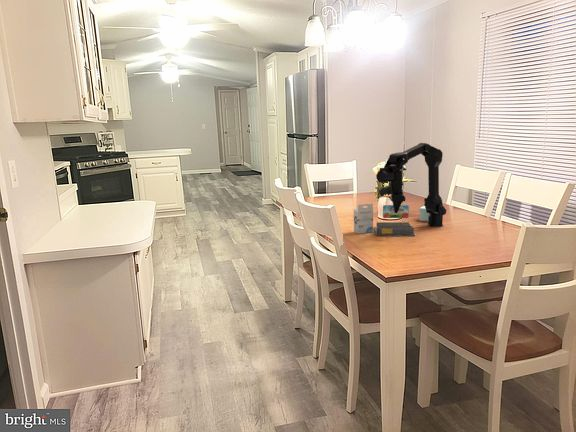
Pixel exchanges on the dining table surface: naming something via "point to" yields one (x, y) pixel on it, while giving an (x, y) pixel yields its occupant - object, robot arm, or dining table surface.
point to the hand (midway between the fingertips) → (395, 212)
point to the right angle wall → (423, 214)
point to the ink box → (363, 219)
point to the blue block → (390, 213)
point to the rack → (394, 229)
